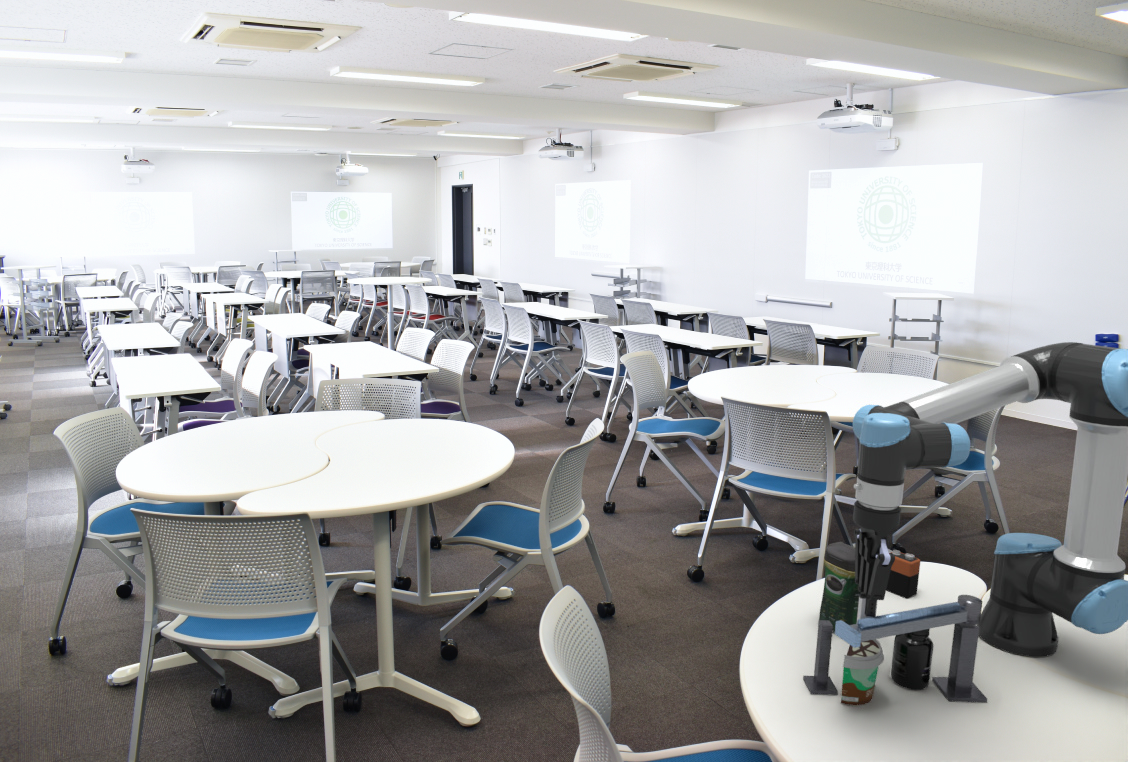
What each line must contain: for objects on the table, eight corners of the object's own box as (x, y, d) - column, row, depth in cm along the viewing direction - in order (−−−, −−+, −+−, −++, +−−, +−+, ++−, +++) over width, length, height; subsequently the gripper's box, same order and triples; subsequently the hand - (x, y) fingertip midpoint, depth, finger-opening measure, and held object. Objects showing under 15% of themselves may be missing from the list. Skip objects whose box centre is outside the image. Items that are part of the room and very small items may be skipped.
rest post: (829, 680, 151) (834, 617, 149) (837, 694, 146) (843, 629, 144) (803, 679, 151) (808, 616, 149) (810, 694, 146) (816, 629, 144)
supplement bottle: (932, 693, 147) (939, 634, 145) (894, 688, 149) (900, 629, 147) (924, 674, 154) (930, 617, 152) (887, 669, 155) (893, 613, 153)
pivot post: (968, 681, 152) (976, 615, 149) (987, 702, 145) (995, 634, 142) (931, 680, 152) (939, 614, 149) (948, 701, 145) (956, 632, 142)
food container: (875, 717, 140) (880, 665, 138) (839, 707, 142) (844, 656, 141) (883, 683, 150) (888, 635, 149) (849, 675, 153) (853, 627, 151)
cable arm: (964, 612, 149) (967, 592, 148) (987, 624, 144) (989, 603, 143) (834, 636, 138) (836, 615, 138) (854, 650, 134) (856, 628, 133)
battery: (907, 599, 187) (911, 559, 185) (881, 589, 192) (885, 550, 190) (917, 595, 189) (921, 555, 187) (891, 584, 194) (895, 546, 193)
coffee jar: (872, 633, 170) (880, 551, 167) (847, 641, 166) (854, 558, 163) (837, 614, 178) (844, 536, 175) (812, 621, 174) (819, 542, 171)
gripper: (843, 490, 142) (832, 611, 147) (869, 515, 130) (856, 647, 134) (885, 491, 142) (872, 613, 147) (915, 517, 130) (901, 649, 134)
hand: (865, 629), depth 140 cm, fingers closed
